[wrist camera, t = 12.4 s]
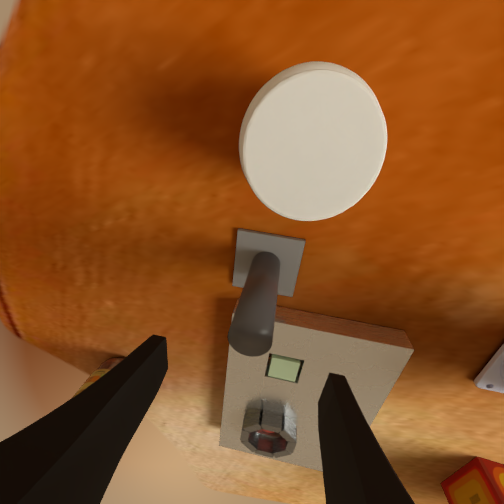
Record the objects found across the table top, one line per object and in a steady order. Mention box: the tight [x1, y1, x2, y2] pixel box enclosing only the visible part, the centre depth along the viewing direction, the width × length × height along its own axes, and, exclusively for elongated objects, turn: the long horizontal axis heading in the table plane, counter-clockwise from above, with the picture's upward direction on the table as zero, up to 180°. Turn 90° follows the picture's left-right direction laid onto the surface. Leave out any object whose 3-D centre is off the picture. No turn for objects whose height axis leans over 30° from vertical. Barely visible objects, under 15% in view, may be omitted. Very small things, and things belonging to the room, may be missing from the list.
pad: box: [268, 354, 300, 382], centre depth 22 cm, size 2×2×2 cm
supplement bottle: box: [239, 61, 387, 221], centre depth 11 cm, size 5×5×10 cm
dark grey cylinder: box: [228, 252, 280, 357], centre depth 16 cm, size 2×2×8 cm
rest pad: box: [232, 228, 305, 297], centre depth 20 cm, size 5×5×1 cm
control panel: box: [219, 298, 414, 472], centre depth 24 cm, size 14×20×3 cm
